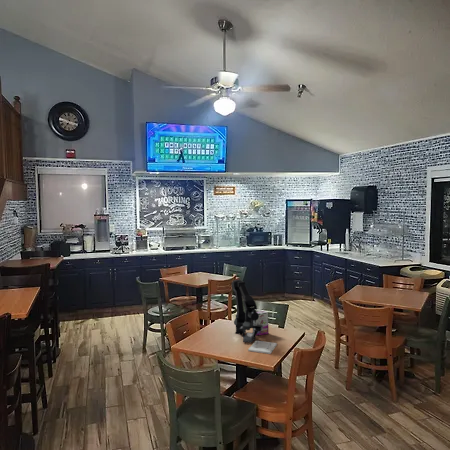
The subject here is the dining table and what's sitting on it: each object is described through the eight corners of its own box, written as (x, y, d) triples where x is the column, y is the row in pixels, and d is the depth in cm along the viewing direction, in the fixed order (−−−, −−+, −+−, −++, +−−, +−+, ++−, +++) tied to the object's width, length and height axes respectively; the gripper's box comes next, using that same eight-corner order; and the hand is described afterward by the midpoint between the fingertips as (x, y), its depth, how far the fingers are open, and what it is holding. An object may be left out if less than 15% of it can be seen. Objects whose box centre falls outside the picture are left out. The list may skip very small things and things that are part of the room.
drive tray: (248, 350, 254) (248, 346, 253) (255, 341, 270) (255, 337, 270) (270, 353, 248) (270, 349, 248) (276, 344, 265) (276, 340, 265)
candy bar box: (265, 332, 291) (265, 310, 290) (268, 334, 287) (268, 312, 286) (252, 334, 287) (252, 312, 286) (255, 336, 282) (255, 314, 282)
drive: (243, 342, 271) (243, 336, 270) (247, 337, 280) (247, 332, 280) (251, 343, 269) (251, 337, 268) (255, 338, 278) (255, 333, 278)
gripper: (233, 318, 269) (233, 340, 270) (258, 321, 263) (258, 343, 263) (238, 314, 280) (238, 335, 280) (263, 316, 273) (263, 338, 274)
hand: (249, 338), depth 274 cm, fingers open, 7 cm apart
